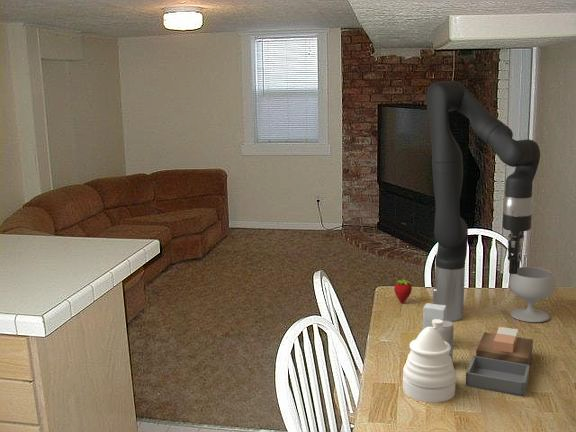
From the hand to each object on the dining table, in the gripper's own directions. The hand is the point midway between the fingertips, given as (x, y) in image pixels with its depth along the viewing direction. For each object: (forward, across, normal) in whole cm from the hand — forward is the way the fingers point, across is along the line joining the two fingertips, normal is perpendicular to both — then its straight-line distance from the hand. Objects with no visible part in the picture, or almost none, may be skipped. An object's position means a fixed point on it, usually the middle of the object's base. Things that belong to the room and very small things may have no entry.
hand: (514, 270), depth 176 cm
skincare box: (+23, +9, -20) cm, 32 cm away
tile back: (+17, +9, 0) cm, 20 cm away
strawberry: (+23, -21, -38) cm, 49 cm away
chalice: (+23, -25, +3) cm, 34 cm away
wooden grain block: (+22, +12, 0) cm, 26 cm away
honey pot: (+23, +36, -15) cm, 45 cm away
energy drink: (+23, +21, -15) cm, 34 cm away
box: (+22, +25, 0) cm, 34 cm away
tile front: (+17, +14, 0) cm, 23 cm away
